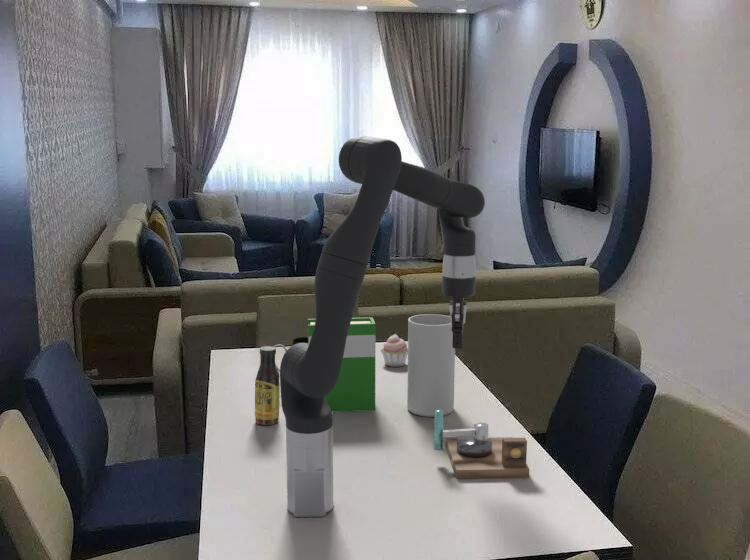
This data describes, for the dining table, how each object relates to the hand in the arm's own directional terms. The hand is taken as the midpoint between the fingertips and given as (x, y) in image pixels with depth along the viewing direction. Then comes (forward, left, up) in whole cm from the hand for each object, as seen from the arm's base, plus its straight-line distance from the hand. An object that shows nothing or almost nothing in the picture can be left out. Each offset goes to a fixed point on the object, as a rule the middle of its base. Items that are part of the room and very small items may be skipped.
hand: (457, 347), depth 184 cm
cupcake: (+69, +10, -25) cm, 74 cm away
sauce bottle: (+19, +46, -25) cm, 56 cm away
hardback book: (+30, +27, -25) cm, 48 cm away
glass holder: (+44, +40, -25) cm, 65 cm away
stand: (-7, -6, -25) cm, 27 cm away
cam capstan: (-7, -1, -23) cm, 24 cm away
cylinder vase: (+27, +3, -25) cm, 37 cm away
